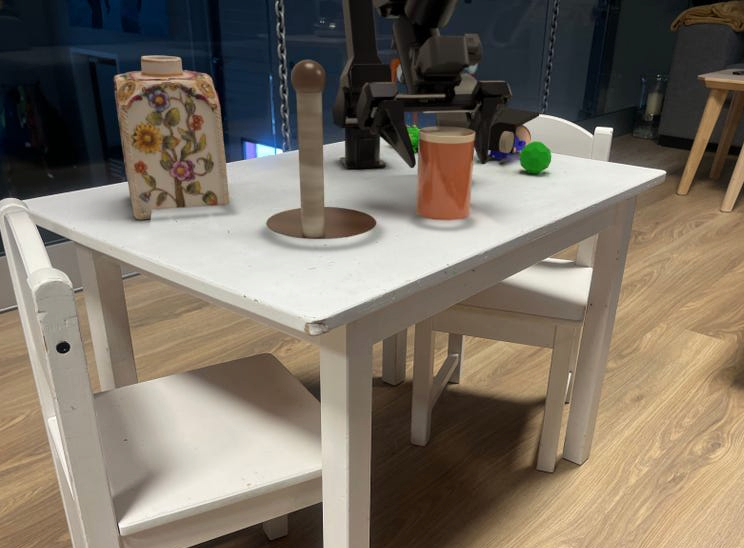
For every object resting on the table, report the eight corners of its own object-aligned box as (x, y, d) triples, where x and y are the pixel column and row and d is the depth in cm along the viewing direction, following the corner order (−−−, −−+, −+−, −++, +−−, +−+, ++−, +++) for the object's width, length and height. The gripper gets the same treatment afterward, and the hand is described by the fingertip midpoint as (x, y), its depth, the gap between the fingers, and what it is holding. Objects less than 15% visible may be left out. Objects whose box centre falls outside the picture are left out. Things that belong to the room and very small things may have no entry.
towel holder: (280, 213, 92) (272, 48, 83) (382, 218, 91) (384, 52, 82) (253, 246, 80) (239, 59, 72) (368, 252, 80) (369, 63, 71)
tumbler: (404, 219, 91) (406, 129, 86) (444, 210, 95) (449, 124, 90) (439, 232, 87) (444, 138, 82) (480, 223, 91) (487, 133, 85)
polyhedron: (515, 169, 118) (518, 139, 116) (544, 169, 119) (548, 139, 116) (522, 176, 114) (525, 145, 112) (552, 176, 114) (556, 145, 112)
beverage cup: (474, 190, 105) (485, 40, 96) (425, 186, 107) (431, 38, 97) (479, 178, 112) (490, 37, 102) (433, 175, 113) (439, 35, 104)
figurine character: (507, 175, 120) (538, 150, 131) (510, 129, 116) (541, 107, 127) (470, 170, 123) (503, 145, 134) (472, 125, 119) (505, 103, 130)
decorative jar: (129, 196, 97) (107, 52, 89) (216, 191, 101) (204, 52, 93) (134, 221, 88) (110, 62, 79) (231, 214, 91) (218, 61, 83)
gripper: (362, 5, 80) (391, 125, 76) (513, 8, 86) (547, 120, 82) (345, 73, 91) (369, 182, 86) (481, 72, 96) (510, 174, 92)
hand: (449, 164), depth 86 cm, fingers open, 9 cm apart
